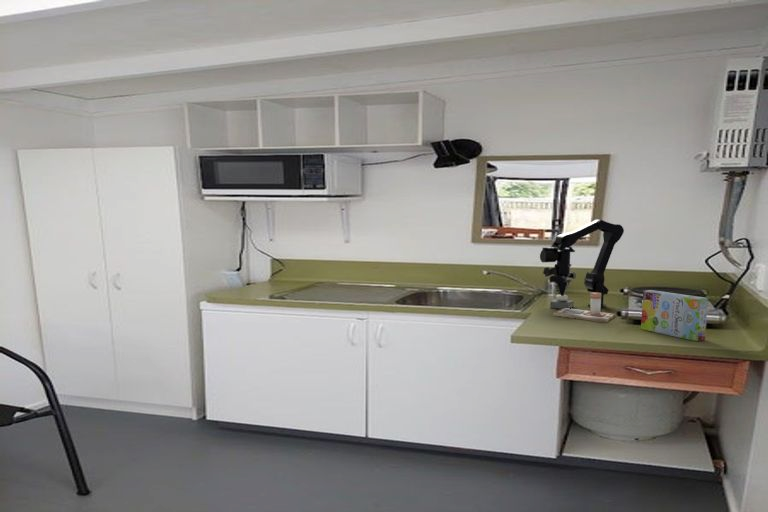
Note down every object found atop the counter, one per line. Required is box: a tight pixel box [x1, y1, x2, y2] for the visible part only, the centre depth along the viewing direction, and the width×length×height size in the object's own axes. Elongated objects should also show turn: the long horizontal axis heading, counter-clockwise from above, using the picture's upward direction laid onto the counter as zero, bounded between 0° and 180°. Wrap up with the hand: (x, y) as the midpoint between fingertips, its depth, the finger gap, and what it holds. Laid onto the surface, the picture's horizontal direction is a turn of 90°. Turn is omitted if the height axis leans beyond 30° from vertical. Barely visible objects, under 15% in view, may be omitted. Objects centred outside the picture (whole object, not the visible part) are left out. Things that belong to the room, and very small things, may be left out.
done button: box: [555, 294, 569, 302], centre depth 233 cm, size 5×5×5 cm
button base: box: [549, 298, 575, 310], centre depth 233 cm, size 8×8×3 cm
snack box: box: [640, 289, 709, 342], centre depth 183 cm, size 21×6×15 cm, turn 30°
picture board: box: [553, 308, 616, 323], centre depth 215 cm, size 15×21×1 cm
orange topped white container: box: [589, 292, 602, 315], centre depth 212 cm, size 4×4×9 cm
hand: (562, 295), depth 232 cm, fingers closed, pressing on done button
